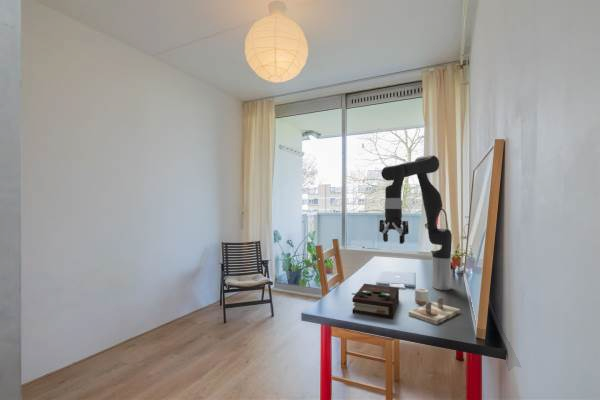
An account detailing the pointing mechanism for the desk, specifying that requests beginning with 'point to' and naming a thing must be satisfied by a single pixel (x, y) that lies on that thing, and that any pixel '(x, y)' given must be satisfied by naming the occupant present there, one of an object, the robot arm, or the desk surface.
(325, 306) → the desk surface
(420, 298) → the sleeve
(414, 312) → the pin board
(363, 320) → the desk surface
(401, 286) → the hard drive
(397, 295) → the decorative book
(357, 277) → the desk surface
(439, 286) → the robot arm
